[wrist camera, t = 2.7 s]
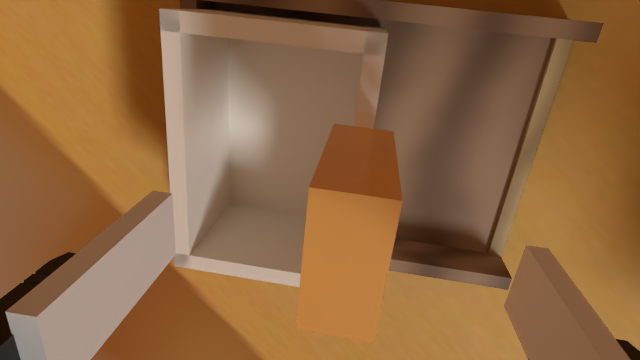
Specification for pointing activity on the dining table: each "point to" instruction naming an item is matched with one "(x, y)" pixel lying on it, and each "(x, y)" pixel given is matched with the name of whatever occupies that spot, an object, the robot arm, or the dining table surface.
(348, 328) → the box
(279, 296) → the dining table surface
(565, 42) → the bay
